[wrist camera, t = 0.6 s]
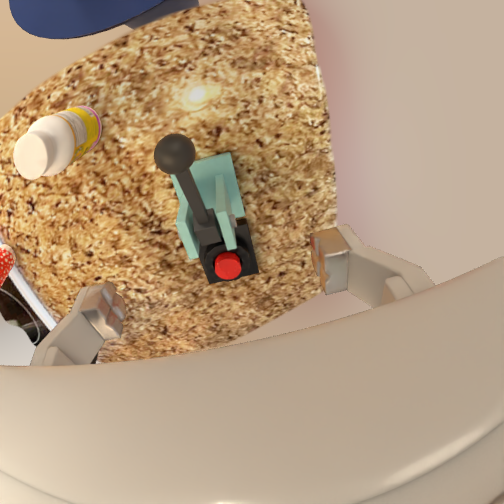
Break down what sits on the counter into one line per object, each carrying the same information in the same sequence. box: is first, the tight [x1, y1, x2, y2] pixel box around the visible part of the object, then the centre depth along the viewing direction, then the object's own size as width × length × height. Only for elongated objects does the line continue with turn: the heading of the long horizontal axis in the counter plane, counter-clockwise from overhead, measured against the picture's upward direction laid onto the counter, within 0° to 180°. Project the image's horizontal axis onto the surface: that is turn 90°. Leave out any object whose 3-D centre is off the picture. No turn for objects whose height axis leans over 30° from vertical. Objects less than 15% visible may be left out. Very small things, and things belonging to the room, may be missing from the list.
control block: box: [199, 218, 259, 284], centre depth 41 cm, size 9×8×4 cm
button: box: [215, 252, 241, 279], centre depth 39 cm, size 4×4×2 cm
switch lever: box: [154, 134, 222, 246], centre depth 24 cm, size 13×3×3 cm, turn 11°
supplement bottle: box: [14, 106, 102, 180], centre depth 23 cm, size 7×7×13 cm
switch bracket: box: [170, 152, 245, 260], centre depth 32 cm, size 9×8×12 cm
